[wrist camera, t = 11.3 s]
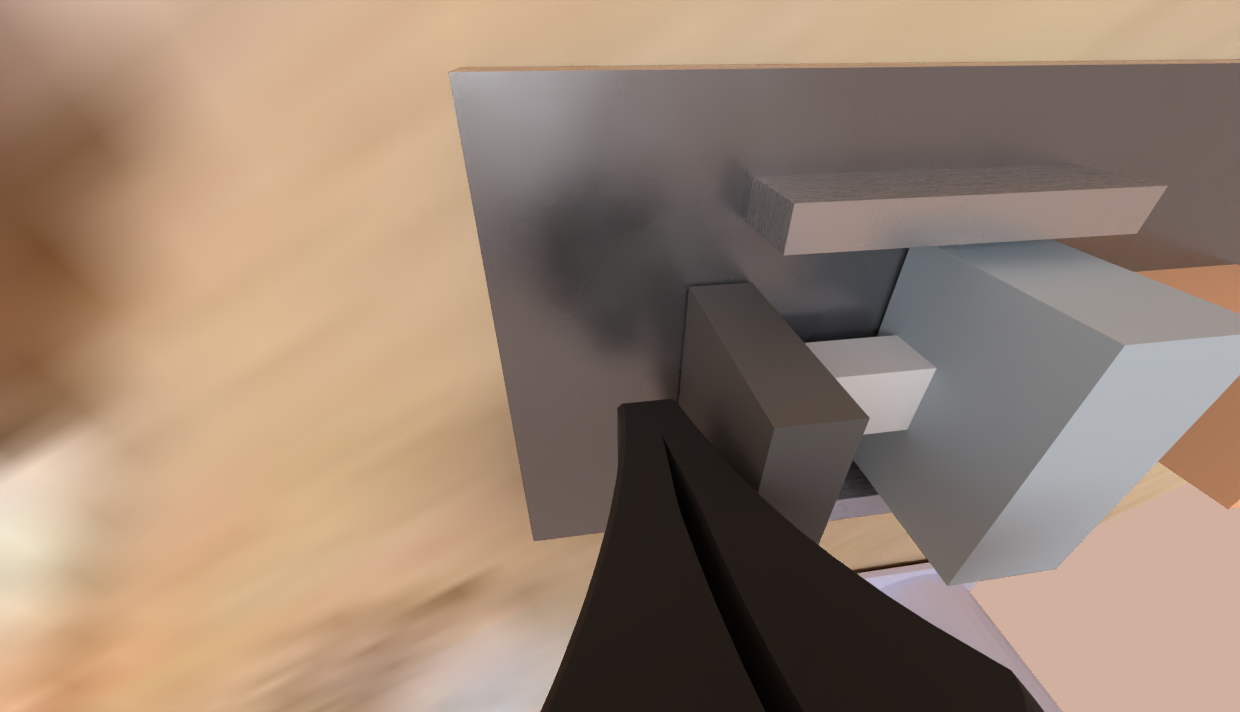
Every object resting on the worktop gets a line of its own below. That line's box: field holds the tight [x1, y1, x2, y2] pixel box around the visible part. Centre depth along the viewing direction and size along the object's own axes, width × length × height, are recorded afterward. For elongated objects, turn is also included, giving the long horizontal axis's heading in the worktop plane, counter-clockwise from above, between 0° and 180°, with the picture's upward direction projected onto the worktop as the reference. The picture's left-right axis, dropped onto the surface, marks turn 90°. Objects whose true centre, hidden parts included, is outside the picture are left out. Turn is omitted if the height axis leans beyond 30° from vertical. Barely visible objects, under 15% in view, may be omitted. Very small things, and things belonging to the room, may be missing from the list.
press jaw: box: [678, 239, 1240, 586], centre depth 11 cm, size 7×9×5 cm
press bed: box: [449, 59, 1240, 541], centre depth 13 cm, size 14×24×4 cm, turn 90°
